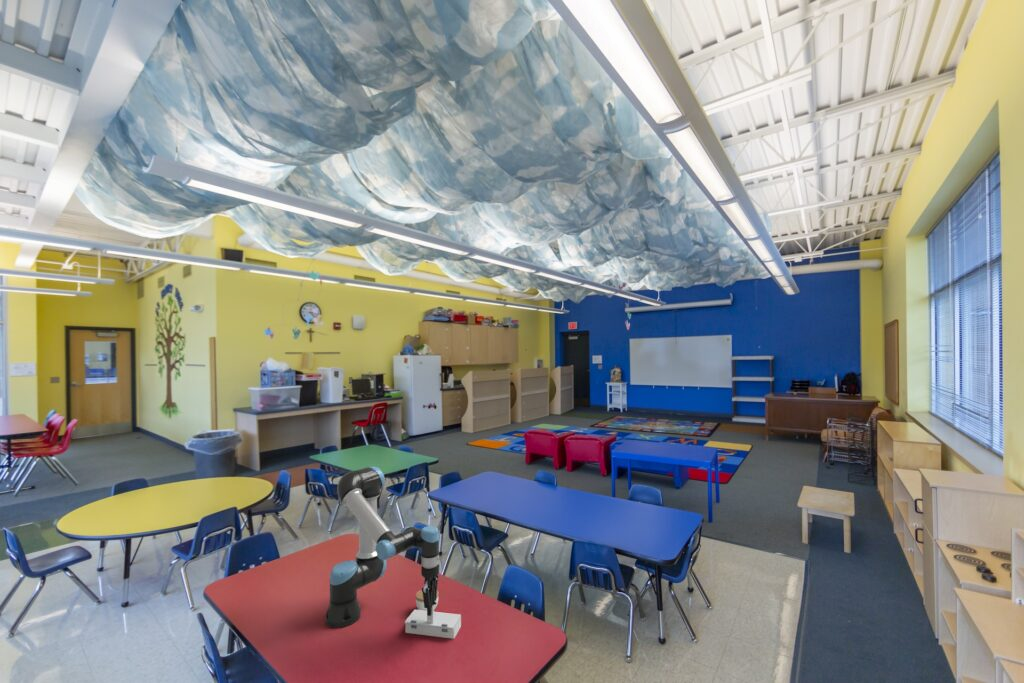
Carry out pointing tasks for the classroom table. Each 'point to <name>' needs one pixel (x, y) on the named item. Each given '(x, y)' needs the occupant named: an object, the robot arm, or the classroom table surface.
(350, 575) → the robot arm
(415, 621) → the cover
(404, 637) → the classroom table surface
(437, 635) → the white latched case
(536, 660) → the classroom table surface
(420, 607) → the lidded jar
